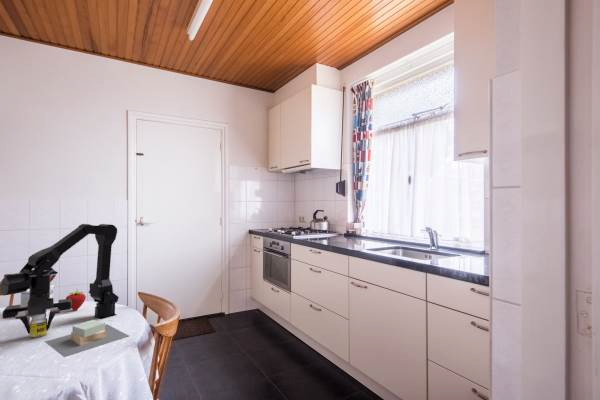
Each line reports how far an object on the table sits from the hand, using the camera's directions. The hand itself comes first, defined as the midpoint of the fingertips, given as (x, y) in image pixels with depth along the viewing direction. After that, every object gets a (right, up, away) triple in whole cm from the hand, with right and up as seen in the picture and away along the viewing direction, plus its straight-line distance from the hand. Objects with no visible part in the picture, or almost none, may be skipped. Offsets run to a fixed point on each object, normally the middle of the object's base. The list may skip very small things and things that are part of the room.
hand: (38, 331), depth 112 cm
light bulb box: (-22, -2, +25) cm, 33 cm away
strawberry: (-7, -3, +28) cm, 29 cm away
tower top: (+19, 0, -1) cm, 19 cm away
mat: (+19, -3, -1) cm, 19 cm away
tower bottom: (+19, -2, -1) cm, 19 cm away
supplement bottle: (0, -2, 0) cm, 2 cm away
